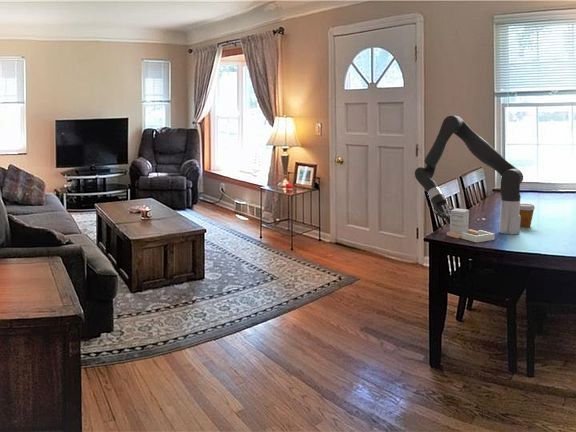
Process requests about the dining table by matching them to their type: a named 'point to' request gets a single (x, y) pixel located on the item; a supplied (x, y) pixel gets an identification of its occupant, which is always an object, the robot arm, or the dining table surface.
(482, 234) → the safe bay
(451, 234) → the trap left
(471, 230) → the trap right
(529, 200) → the dining table surface
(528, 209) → the disposable coffee cup
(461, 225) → the supplement box
